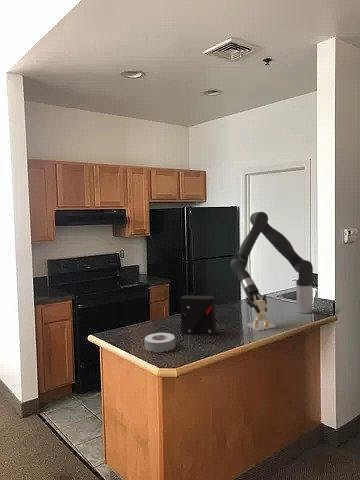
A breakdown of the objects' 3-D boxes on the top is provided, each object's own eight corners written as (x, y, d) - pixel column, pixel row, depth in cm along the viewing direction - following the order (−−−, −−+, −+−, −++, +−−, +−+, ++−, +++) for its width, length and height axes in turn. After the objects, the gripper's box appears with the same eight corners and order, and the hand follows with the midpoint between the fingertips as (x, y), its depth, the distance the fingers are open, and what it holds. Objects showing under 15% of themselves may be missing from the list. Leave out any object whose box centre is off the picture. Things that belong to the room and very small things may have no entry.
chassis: (246, 325, 231) (246, 319, 231) (263, 322, 236) (263, 316, 236) (258, 330, 220) (258, 324, 220) (276, 327, 225) (276, 321, 225)
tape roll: (178, 350, 196) (177, 340, 195) (147, 354, 193) (146, 343, 192) (172, 340, 211) (171, 331, 210) (143, 344, 208) (142, 334, 207)
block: (255, 317, 229) (255, 300, 228) (261, 316, 230) (260, 299, 230) (259, 319, 225) (259, 302, 224) (265, 318, 227) (265, 301, 226)
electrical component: (216, 330, 224) (215, 295, 223) (212, 336, 215) (210, 299, 213) (186, 328, 230) (185, 294, 229) (181, 334, 220) (179, 298, 219)
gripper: (241, 284, 230) (254, 310, 220) (262, 282, 236) (275, 306, 226) (237, 292, 235) (249, 317, 225) (256, 289, 241) (270, 313, 231)
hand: (262, 311), depth 226 cm, fingers closed on block, 4 cm apart
